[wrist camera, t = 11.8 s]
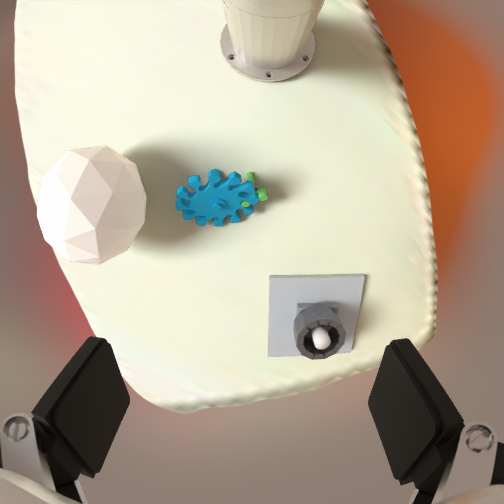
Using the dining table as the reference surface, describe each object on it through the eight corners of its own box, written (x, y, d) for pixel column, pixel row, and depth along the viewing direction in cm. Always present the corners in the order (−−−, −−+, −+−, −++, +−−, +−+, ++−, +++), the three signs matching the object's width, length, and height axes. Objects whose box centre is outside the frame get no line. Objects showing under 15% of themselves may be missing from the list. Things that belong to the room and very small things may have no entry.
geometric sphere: (152, 188, 41) (186, 225, 31) (84, 250, 39) (94, 309, 29) (100, 118, 31) (109, 124, 21) (25, 190, 29) (3, 234, 19)
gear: (181, 233, 37) (167, 184, 28) (182, 198, 39) (171, 147, 30) (264, 227, 38) (272, 176, 29) (258, 193, 40) (264, 140, 32)
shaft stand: (269, 275, 40) (271, 298, 33) (362, 273, 40) (379, 294, 33) (267, 352, 44) (269, 381, 38) (349, 348, 44) (360, 375, 37)
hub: (295, 305, 39) (298, 320, 35) (341, 303, 38) (349, 317, 35) (292, 343, 41) (294, 360, 37) (335, 341, 41) (341, 357, 37)
